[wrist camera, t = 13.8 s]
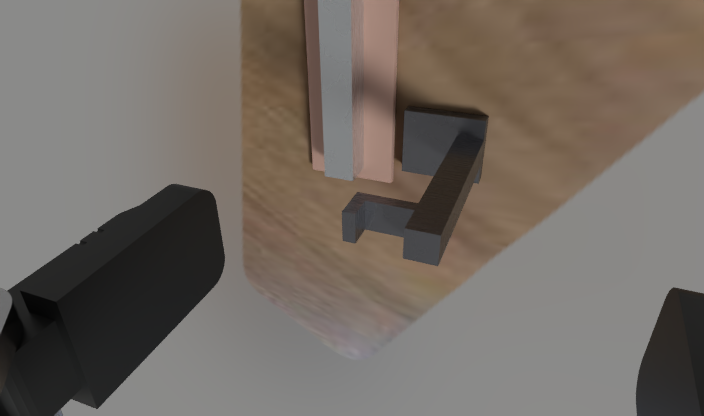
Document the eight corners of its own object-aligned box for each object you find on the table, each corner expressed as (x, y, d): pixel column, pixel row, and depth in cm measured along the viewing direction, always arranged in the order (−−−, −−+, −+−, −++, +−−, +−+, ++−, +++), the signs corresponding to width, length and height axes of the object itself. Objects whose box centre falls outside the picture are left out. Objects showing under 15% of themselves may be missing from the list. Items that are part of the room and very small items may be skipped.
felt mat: (297, -213, 33) (292, -214, 33) (406, -221, 31) (403, -223, 30) (315, 166, 46) (312, 169, 46) (393, 179, 44) (390, 183, 44)
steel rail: (326, -195, 32) (309, -199, 30) (363, -197, 32) (348, -202, 30) (336, 163, 45) (324, 176, 43) (363, 167, 44) (353, 180, 42)
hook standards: (422, -190, 31) (323, -228, 20) (529, -196, 29) (484, -242, 18) (405, 165, 43) (337, 264, 32) (480, 177, 41) (436, 287, 30)
